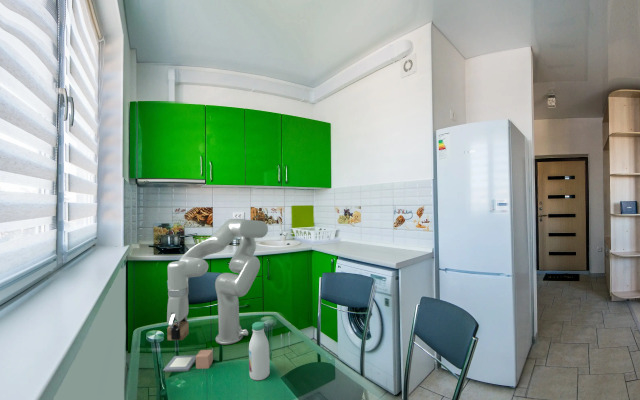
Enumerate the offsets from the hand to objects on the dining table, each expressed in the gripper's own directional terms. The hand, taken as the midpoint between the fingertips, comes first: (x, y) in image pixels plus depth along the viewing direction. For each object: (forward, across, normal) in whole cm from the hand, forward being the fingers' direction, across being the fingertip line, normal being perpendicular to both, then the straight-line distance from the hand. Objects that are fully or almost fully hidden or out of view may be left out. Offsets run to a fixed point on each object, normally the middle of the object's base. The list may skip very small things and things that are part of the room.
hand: (179, 334), depth 125 cm
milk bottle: (+12, +9, +34) cm, 37 cm away
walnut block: (+1, 0, 0) cm, 1 cm away
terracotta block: (+12, +1, +10) cm, 16 cm away
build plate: (+12, 0, 0) cm, 12 cm away
